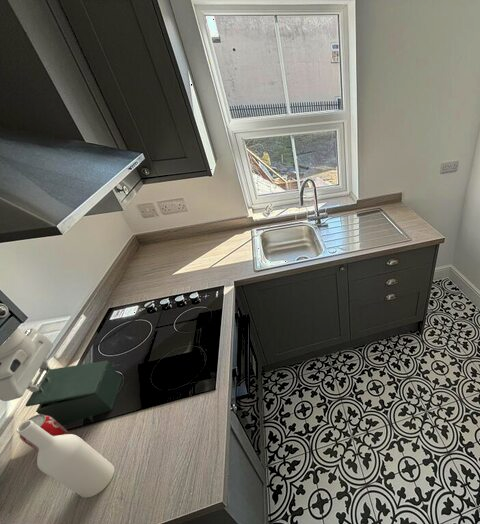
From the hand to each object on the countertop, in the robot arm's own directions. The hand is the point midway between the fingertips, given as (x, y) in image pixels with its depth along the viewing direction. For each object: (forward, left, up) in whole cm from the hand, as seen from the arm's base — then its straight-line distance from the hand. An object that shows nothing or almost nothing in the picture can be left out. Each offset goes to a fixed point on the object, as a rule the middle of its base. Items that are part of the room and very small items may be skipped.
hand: (41, 380), depth 89 cm
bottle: (+16, -28, -16) cm, 36 cm away
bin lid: (+5, 0, -4) cm, 7 cm away
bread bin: (+6, 0, -16) cm, 16 cm away
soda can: (+1, -13, -16) cm, 20 cm away
